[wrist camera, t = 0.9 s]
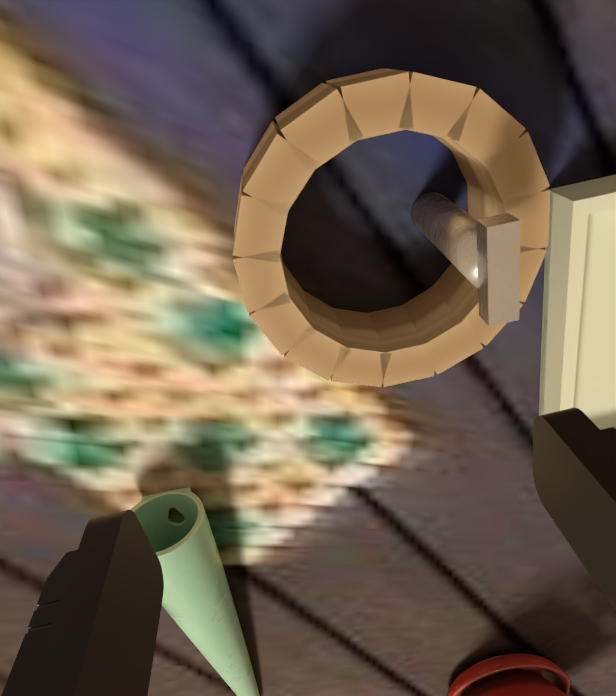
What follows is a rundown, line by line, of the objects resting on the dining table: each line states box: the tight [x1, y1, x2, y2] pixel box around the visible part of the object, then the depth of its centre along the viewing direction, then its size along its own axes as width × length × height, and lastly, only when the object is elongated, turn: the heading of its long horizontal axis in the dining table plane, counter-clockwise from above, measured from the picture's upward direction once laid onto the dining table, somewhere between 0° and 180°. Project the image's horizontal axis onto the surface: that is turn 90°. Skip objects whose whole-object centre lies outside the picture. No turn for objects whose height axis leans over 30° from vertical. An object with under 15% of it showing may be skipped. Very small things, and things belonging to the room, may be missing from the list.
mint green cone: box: [131, 487, 260, 696], centre depth 39 cm, size 5×6×27 cm
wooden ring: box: [233, 68, 550, 387], centre depth 25 cm, size 14×14×4 cm
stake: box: [411, 192, 520, 326], centre depth 23 cm, size 4×2×9 cm, turn 11°
